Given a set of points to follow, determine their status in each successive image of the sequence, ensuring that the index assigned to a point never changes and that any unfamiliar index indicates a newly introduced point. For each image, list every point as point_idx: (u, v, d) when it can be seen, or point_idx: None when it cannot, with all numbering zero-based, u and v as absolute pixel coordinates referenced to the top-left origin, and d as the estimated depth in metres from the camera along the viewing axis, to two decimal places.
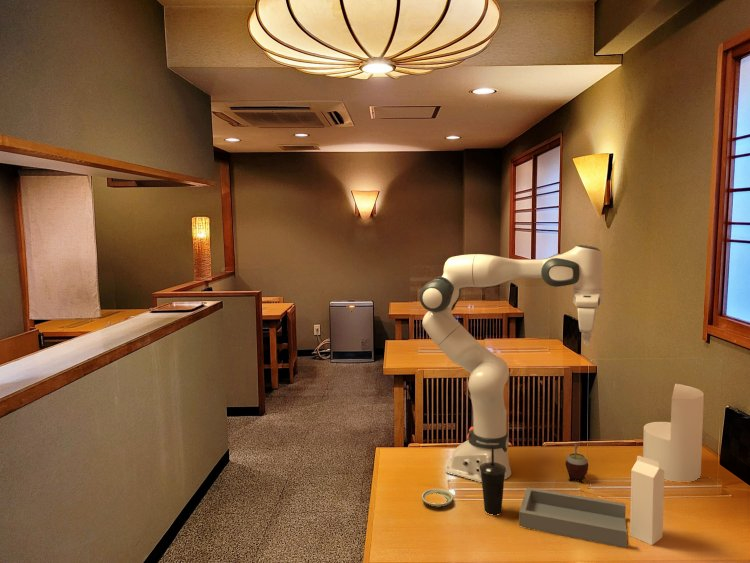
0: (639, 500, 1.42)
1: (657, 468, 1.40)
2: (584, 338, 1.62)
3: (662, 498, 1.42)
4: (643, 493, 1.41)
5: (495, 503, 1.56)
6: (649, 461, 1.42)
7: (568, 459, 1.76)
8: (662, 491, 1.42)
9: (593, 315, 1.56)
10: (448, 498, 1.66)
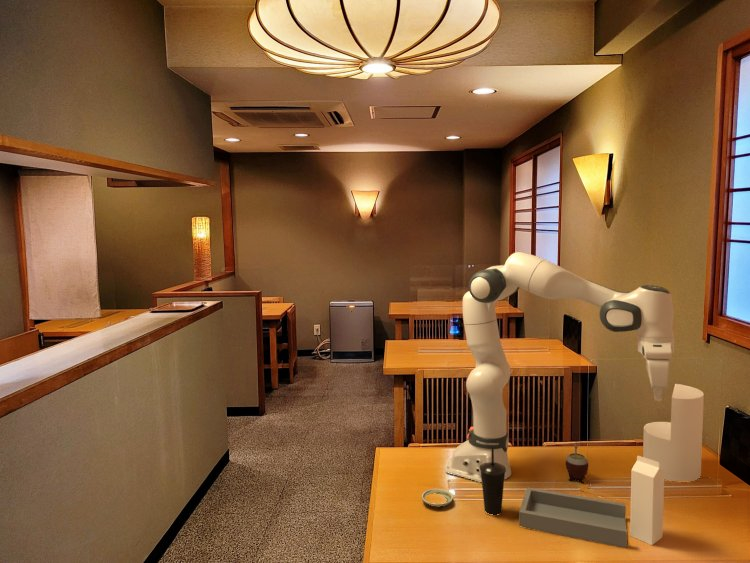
0: (639, 500, 1.42)
1: (657, 468, 1.40)
2: (655, 393, 1.40)
3: (662, 498, 1.42)
4: (643, 493, 1.41)
5: (495, 503, 1.56)
6: (649, 461, 1.42)
7: (568, 459, 1.76)
8: (662, 491, 1.42)
9: (667, 368, 1.35)
10: (448, 498, 1.66)
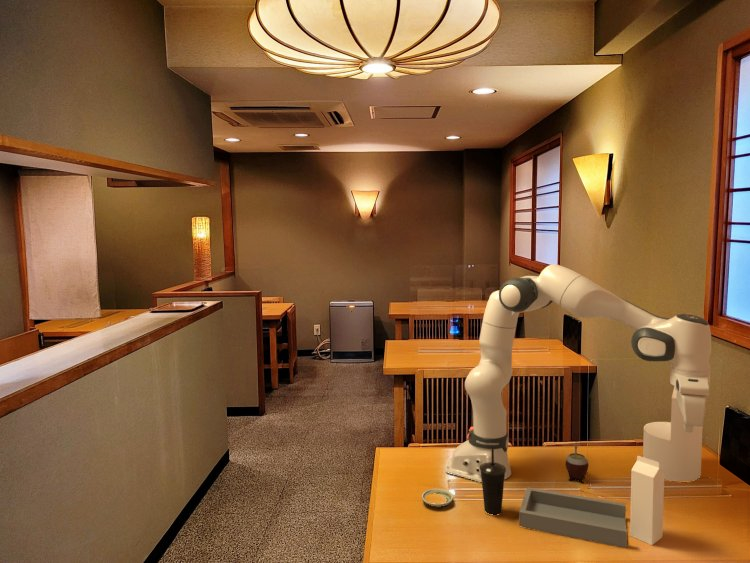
0: (639, 500, 1.42)
1: (657, 468, 1.40)
2: (686, 424, 1.36)
3: (662, 498, 1.42)
4: (643, 493, 1.41)
5: (495, 503, 1.56)
6: (649, 461, 1.42)
7: (568, 459, 1.76)
8: (662, 491, 1.42)
9: (703, 406, 1.27)
10: (448, 498, 1.66)
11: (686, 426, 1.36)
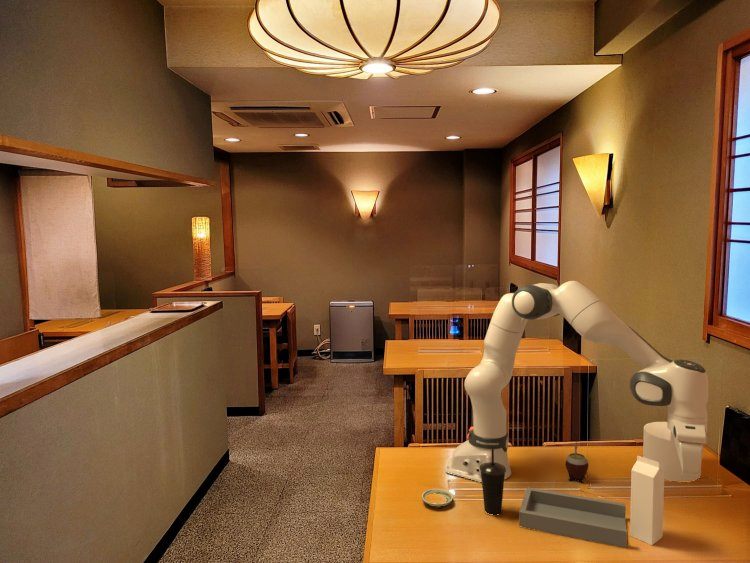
0: (639, 500, 1.42)
1: (657, 468, 1.40)
2: None
3: (662, 498, 1.42)
4: (643, 493, 1.41)
5: (495, 503, 1.56)
6: (649, 461, 1.42)
7: (568, 459, 1.76)
8: (662, 491, 1.42)
9: (700, 454, 1.28)
10: (448, 498, 1.66)
11: None
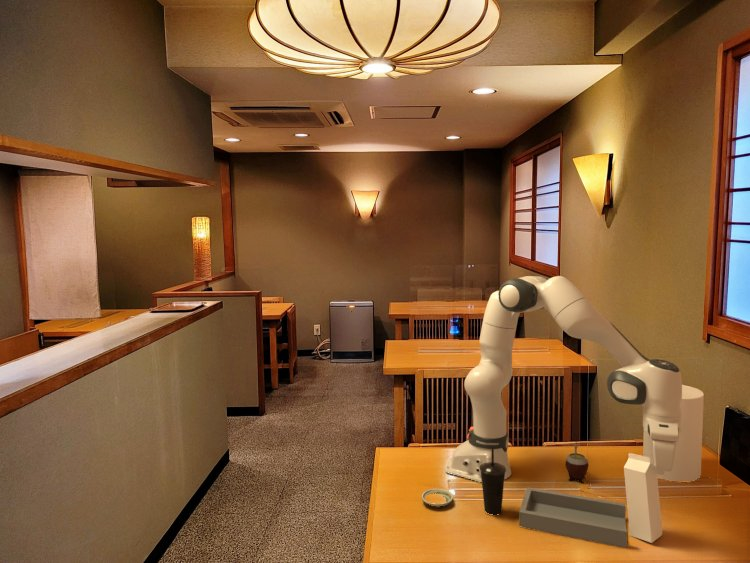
0: (634, 498, 1.43)
1: (648, 463, 1.42)
2: None
3: (657, 494, 1.43)
4: (638, 490, 1.42)
5: (495, 503, 1.56)
6: (640, 457, 1.44)
7: (568, 459, 1.76)
8: (656, 487, 1.43)
9: (673, 452, 1.31)
10: (448, 498, 1.66)
11: None
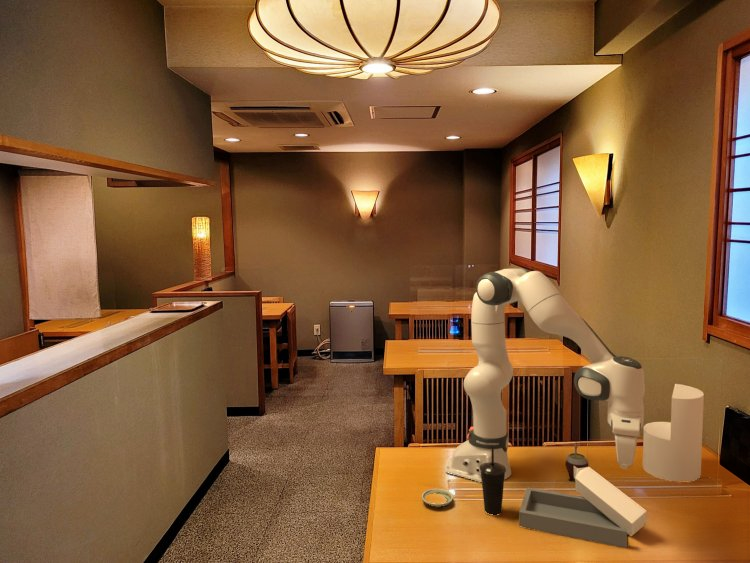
0: (597, 503, 1.51)
1: (577, 470, 1.58)
2: None
3: (609, 484, 1.52)
4: (590, 495, 1.53)
5: (495, 503, 1.56)
6: (575, 472, 1.60)
7: (568, 459, 1.76)
8: (602, 480, 1.53)
9: (634, 446, 1.34)
10: (448, 498, 1.66)
11: None
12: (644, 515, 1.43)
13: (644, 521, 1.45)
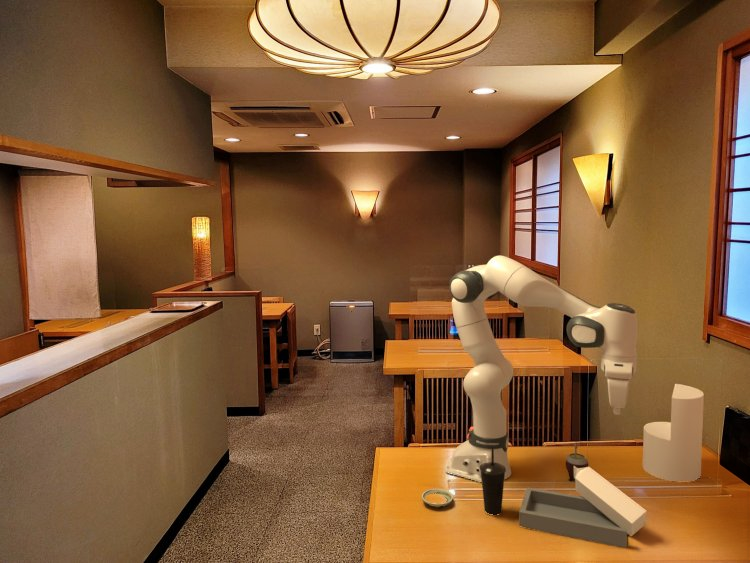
0: (597, 503, 1.51)
1: (577, 470, 1.58)
2: (614, 407, 1.45)
3: (609, 484, 1.52)
4: (590, 495, 1.53)
5: (495, 503, 1.56)
6: (575, 472, 1.60)
7: (568, 459, 1.76)
8: (602, 480, 1.53)
9: (626, 388, 1.36)
10: (448, 498, 1.66)
11: (614, 408, 1.45)
12: (644, 515, 1.43)
13: (644, 521, 1.45)
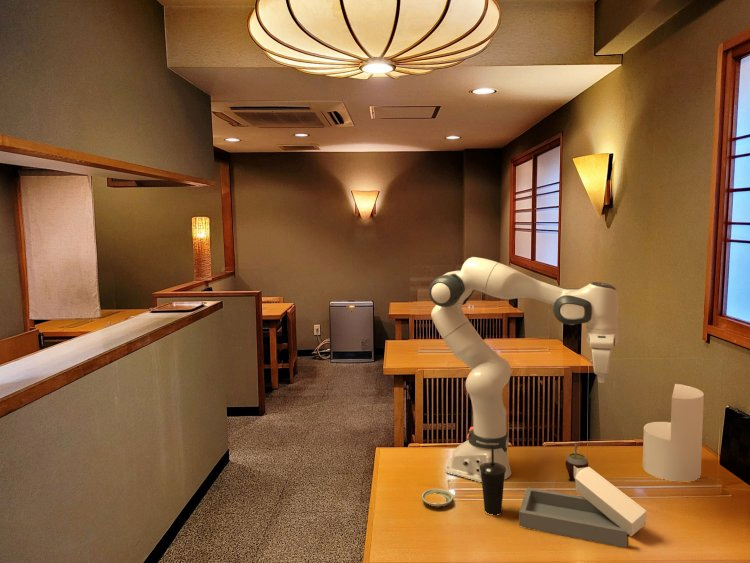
0: (597, 503, 1.51)
1: (577, 470, 1.58)
2: (599, 376, 1.59)
3: (609, 484, 1.52)
4: (590, 495, 1.53)
5: (495, 503, 1.56)
6: (575, 472, 1.60)
7: (568, 459, 1.76)
8: (602, 480, 1.53)
9: (608, 357, 1.50)
10: (448, 498, 1.66)
11: (599, 377, 1.59)
12: (644, 515, 1.43)
13: (644, 521, 1.45)
